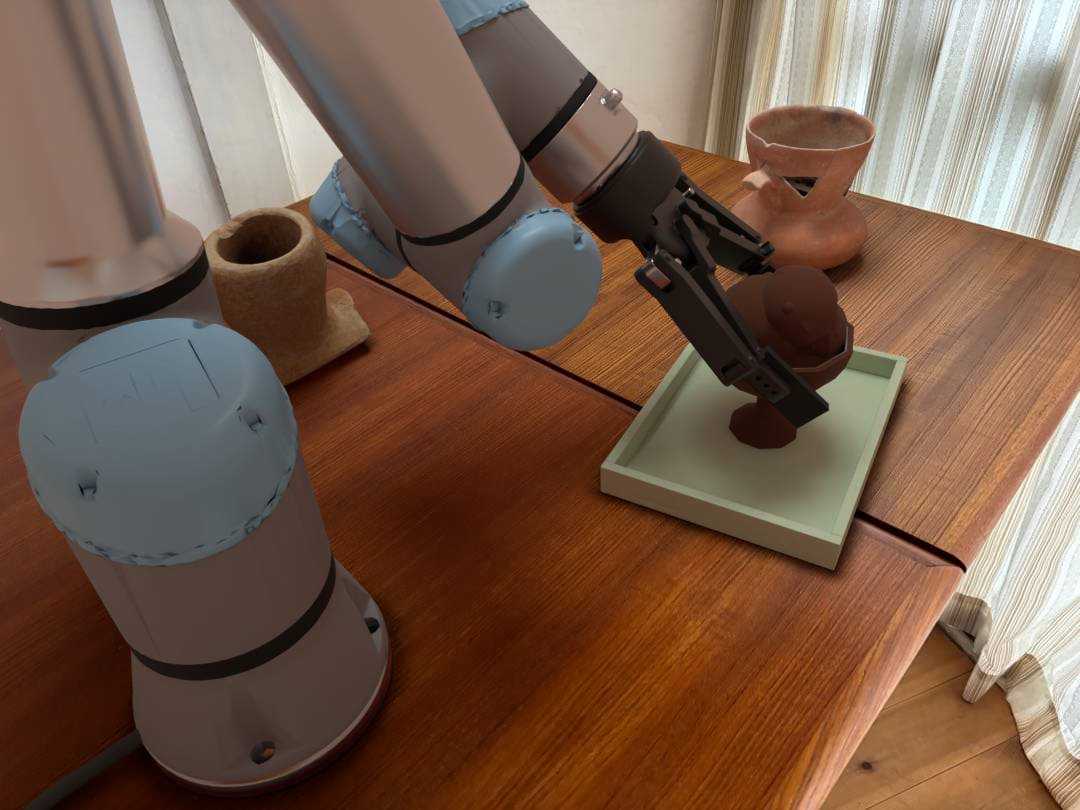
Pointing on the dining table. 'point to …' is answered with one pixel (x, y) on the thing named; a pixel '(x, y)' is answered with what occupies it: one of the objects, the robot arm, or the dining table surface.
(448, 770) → the dining table surface
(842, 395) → the serving tray
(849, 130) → the ceramic jug
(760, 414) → the ice cream bowl
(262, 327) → the stone cup
